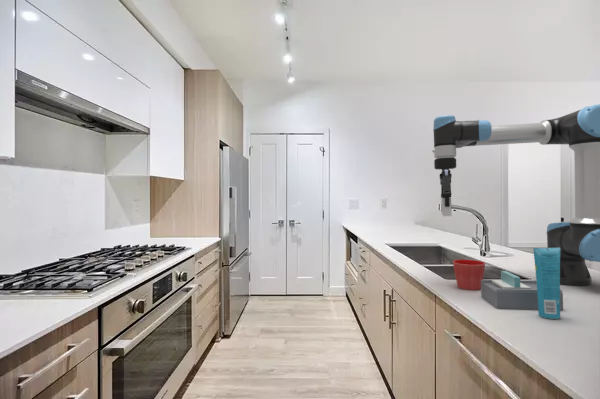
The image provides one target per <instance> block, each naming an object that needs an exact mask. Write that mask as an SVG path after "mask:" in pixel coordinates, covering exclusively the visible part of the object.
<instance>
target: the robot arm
mask: <svg viewBox="0 0 600 399" xmlns="http://www.w3.org/2000/svg"><path fill="white" fill-rule="evenodd" d="M432 131H433V150H432V152H431V153H434V154H433V157H434V158H435V159H434V161H433V162H434V167H433V168H434V170H441V172H440V173H439V181H440V182H439V184H440V186H441V188H440V189H441V191H440V192H441V194H440V200H441V203H440V204H441V215H442V216H443V217H452V216H453V215H452V194H453V193H452V187H451V186H452V177H453V176H452V174H453V173H451V170H453V169H456V168H457V158H456V157H457V149H461V148H463V147H475V146H492V145H511V144H512V145H513V144H515V145H516V144H530V143H531V144H532V143H534V144H535V143H539V144H540V145H544V146H545V145H568V148H569V149H571V150H573V153H574V157H573V158H574V159H573V160H574V218H573V219H571V220H570V221H568V222H567V221H566V222H565V221H564V222H563V221H562V222H551V223H549V224H547V227H546V241H547V242H546V244H547V247H546V248H560V285H568V286H590V285H592V283H593V282H592V276H591V273H590V271H589V269H588V266H587V264H586V261H588V262H595V263H600V104H594V105H589V106H585V107H583V108H581V109H578V110H576V111H574V112H573V111H572V112H571V113H568V114H565V115H562V116H560V117H556V118H552V119H551V118H550V119H543V120H541V121H540V122H534V123H532V122H531V123H519V124H515V123H514V124H500V125H492V124H491V122H490V120H488V119H487V120H486V119H485V120H483V119H477V120H462V121H459V120H456V116H455V115H452V114H451V115H449V114H445V115H438V116H436V118H434V120H433V130H432Z"/></svg>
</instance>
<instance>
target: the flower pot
mask: <svg viewBox="0 0 600 399" xmlns="http://www.w3.org/2000/svg"><path fill="white" fill-rule="evenodd" d="M452 263H453V264H452V265H453V270H454V275H455V276H454V277H455V280H456V284H457V288H459V289H461V290H464V291H465V290H466V291H479V290H481V280H484V274H485V268H486V263H485V262H484V261H482V260H481V261H480V260H474V259H454V260H453V261H452Z"/></svg>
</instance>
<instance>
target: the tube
mask: <svg viewBox="0 0 600 399" xmlns="http://www.w3.org/2000/svg"><path fill="white" fill-rule="evenodd" d="M533 259H534V267H535V268H534V269H535V280H536V282H537V295H538V310H537V311H538V312H537V313H538V316H539V317H540V318H544V319H550V320H558V319H561V310H560V290H561V284H560V248H547V247H533Z"/></svg>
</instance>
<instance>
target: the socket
mask: <svg viewBox="0 0 600 399" xmlns="http://www.w3.org/2000/svg"><path fill="white" fill-rule="evenodd" d="M492 280H493V279H483V280H481V289H480V294H481V295H480V296H481V298H482V299H483V300H485V301H486V302H487V303H489V304H490V305H492V306H493V307H495V308H496V309H497V310H498V309H500V310H503V309H504V310H530V311H531V310H537V311H538V295H537V282H536V279H534V280H533V279H532V280H529V279H524V280H523V279H520V283H522V284H525V285H527V286H529V287H531V289H502V288H501V287H499V286H497V285H495V284H494V283H492ZM560 311H564V294H563V289H560Z"/></svg>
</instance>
